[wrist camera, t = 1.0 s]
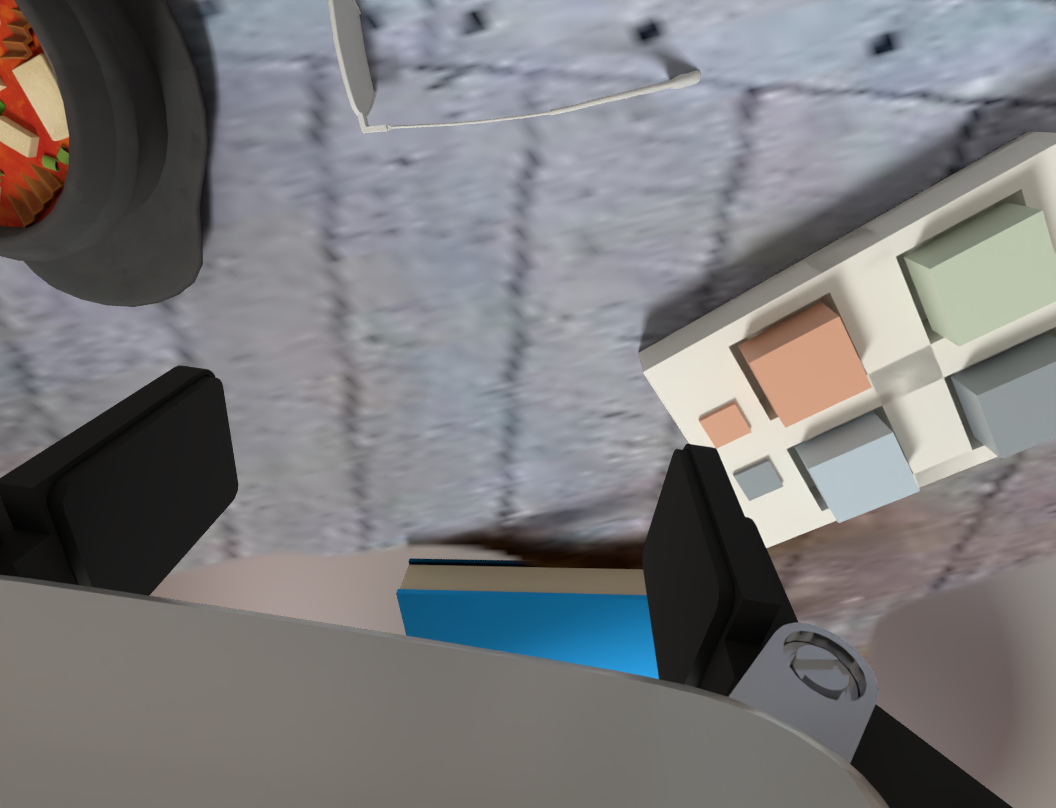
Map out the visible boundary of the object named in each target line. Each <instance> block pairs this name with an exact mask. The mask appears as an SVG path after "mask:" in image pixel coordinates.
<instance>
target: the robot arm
mask: <svg viewBox="0 0 1056 808" xmlns="http://www.w3.org/2000/svg"><path fill="white" fill-rule="evenodd" d="M237 491H238V479H237V473H236V466H235V460H234V454H233V447H232V441H231V435H230V428H229V422H228V416H227V409H226V403H225V396H224V390H223V385H222V382H221V381H220V379H218V378H215V375H214V374H213V372H212V371H210V370H207V369H201V368H194V367H188V366H177V367H174V368H173V369H171V370H170V371H168V372H166V373H165V374H163V375H162V376H160V377H159V378H157V379H155V380H154V381H152V382H151V383H149V384H148V385H146V386H144V387H143V388H141V389H140V390H138V391H137V392H135V393H133V394H132V395H130V396H129V397H127V398H126V399H124V400H122V401H121V402H119V403H118V404H116V405H115V406H113V407H111V408H110V409H108V410H107V411H105V412H104V413H102V414H100V415H99V416H97V417H96V418H94V419H93V420H91V421H89V422H88V423H86V424H85V425H83V426H82V427H80V428H78V429H77V430H75V431H74V432H72V433H71V434H69V435H67V436H66V437H64V438H63V439H61V440H60V441H58V442H56V443H55V444H53V445H52V446H50V447H49V448H47V449H45V450H44V451H42V452H41V453H39V454H38V455H36V456H34V457H33V458H31V459H30V460H28V461H27V462H25V463H23V464H22V465H20V466H19V467H17V468H16V469H14V470H12V471H11V472H9V473H8V474H6V475H5V476H3V477H1V478H0V808H1012V807H1011V806H1010V805H1009V804H1007V803H1006V802H1004V801H1003V800H1002V799H1000V798H999V797H998V796H997V795H995V794H994V793H993V792H991V791H990V790H989V789H987V788H986V787H985V786H983V785H982V784H981V783H979V782H978V781H977V780H975V779H974V778H972V777H971V776H970V775H969V774H967V773H966V772H965V771H963V770H962V769H961V768H960V767H958V766H957V765H956V764H954V763H953V762H952V761H950V760H949V759H948V758H946V757H945V756H944V755H942V754H941V753H940V752H938V751H937V750H935V749H934V748H933V747H931V746H930V745H929V744H928V743H926V742H925V741H924V740H922V739H921V738H920V737H918V736H917V735H916V734H914V733H913V732H912V731H910V730H909V729H908V728H907V727H905V726H904V725H902V724H901V723H900V722H899V721H897V720H896V719H894V718H893V717H892V716H890V715H889V714H888V713H887V712H885V711H884V710H883V709H881V708H880V707H879V706H877V705H876V702H877V697H878V690H879V689H878V685H877V682H876V678H875V675H874V673H873V672H872V670H871V668H870V667H869V665H868V663H867V662H866V661H865V659H864V658H863V657H862V656H861V655H860V654H859V653H858V652H857V651H856V650H855V649H854V648H853V647H852V646H851V645H849V644H848V643H847V642H845V641H844V640H843V639H841V638H840V637H839V636H837V635H835V634H833V633H831V632H829V631H827V630H826V629H824V628H820V627H817V626H814V625H811V624H806V623H798V620H797V618H796V616H795V613H794V611H793V609H792V607H791V604H790V602H789V600H788V597H787V595H786V593H785V590H784V588H783V586H782V584H781V581H780V579H779V577H778V574H777V572H776V570H775V567H774V565H773V563H772V561H771V558H770V556H769V554H768V551H767V549H766V547H765V544H764V542H763V540H762V538H761V535H760V533H759V531H758V528H757V526H756V524H755V523H754V521H753V520H752V519H751V518H749V517H745V516H744V513H743V511H742V508H741V506H740V504H739V501H738V499H737V496H736V494H735V491H734V489H733V487H732V484H731V482H730V479H729V477H728V475H727V472H726V470H725V467H724V465H723V463H722V460H721V458H720V455H719V453H718V451H717V449H716V448H713V447H706V446H700V445H693V444H686V445H685V447H684V449H683V450H680V449H676V450H675V451H674V453H673V456H672V459H671V462H670V465H669V468H668V471H667V475H666V478H665V481H664V484H663V487H662V490H661V494H660V497H659V500H658V503H657V506H656V510H655V513H654V516H653V519H652V522H651V525H650V529H649V532H648V535H647V538H646V541H645V545H644V548H643V555H642V566H643V573H644V580H645V587H646V593H647V600H648V607H649V614H650V621H651V628H652V635H653V642H654V648H655V655H656V662H657V669H658V676H659V679H655V678H651V677H646V676H642V675H636V674H631V673H626V672H621V671H615V670H610V669H604V668H598V667H592V666H586V665H580V664H575V663H569V662H564V661H558V660H553V659H547V658H540V657H534V656H528V655H522V654H516V653H510V652H504V651H497V650H491V649H485V648H479V647H473V646H467V645H461V644H455V643H448V642H442V641H436V640H430V639H424V638H418V637H412V636H405V635H398V634H392V633H386V632H379V631H373V630H367V629H361V628H355V627H348V626H342V625H336V624H329V623H323V622H316V621H310V620H303V619H296V618H291V617H284V616H278V615H272V614H265V613H258V612H253V611H246V610H240V609H233V608H227V607H220V606H213V605H207V604H200V603H193V602H187V601H180V600H174V599H166V598H160V597H154V596H149V595H150V594H151V593H152V592H153V591H154V590H155V588H156V587H157V586H158V585H159V584H160V583H161V582H162V581H163V580H164V578H165V577H166V576H167V575H168V574H169V573H170V572H171V570H172V569H173V568H174V567H175V566H176V565H177V564H178V563H179V561H180V560H181V559H182V558H183V557H184V556H185V555H186V553H187V552H188V551H189V550H190V549H191V548H192V547H193V546H194V544H195V543H196V542H197V541H198V540H199V539H200V538H201V536H202V535H203V534H204V533H205V532H206V531H207V530H208V529H209V527H210V526H211V525H212V524H213V523H214V522H215V521H216V519H217V518H218V517H219V516H220V515H221V514H222V513H223V512H224V510H225V509H226V508H227V507H228V506H229V505H230V504H231V502H232V501H233V500H234V498H235V496H236V494H237Z"/></svg>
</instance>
